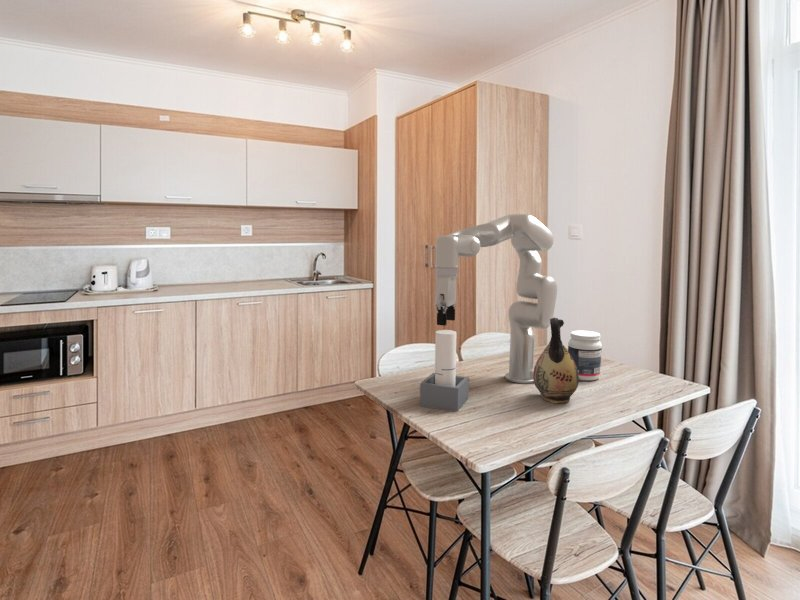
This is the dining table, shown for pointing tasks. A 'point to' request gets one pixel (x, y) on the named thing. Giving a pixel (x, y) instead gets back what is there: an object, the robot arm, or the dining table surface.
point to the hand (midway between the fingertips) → (446, 322)
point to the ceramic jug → (556, 369)
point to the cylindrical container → (445, 357)
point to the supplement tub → (586, 353)
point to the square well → (444, 393)
